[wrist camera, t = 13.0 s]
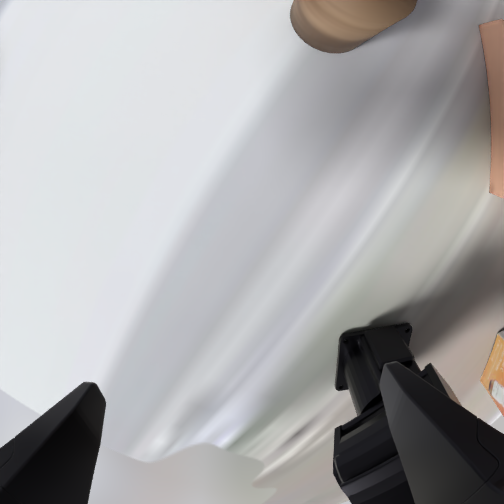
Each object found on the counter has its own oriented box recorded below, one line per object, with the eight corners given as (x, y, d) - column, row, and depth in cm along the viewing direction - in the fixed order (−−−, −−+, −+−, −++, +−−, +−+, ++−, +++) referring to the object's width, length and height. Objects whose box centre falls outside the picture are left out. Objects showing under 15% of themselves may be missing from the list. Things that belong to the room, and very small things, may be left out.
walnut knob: (371, 55, 16) (426, 30, 9) (295, 53, 16) (320, 17, 9) (360, -9, 14) (404, -53, 7) (285, -13, 14) (302, -69, 8)
